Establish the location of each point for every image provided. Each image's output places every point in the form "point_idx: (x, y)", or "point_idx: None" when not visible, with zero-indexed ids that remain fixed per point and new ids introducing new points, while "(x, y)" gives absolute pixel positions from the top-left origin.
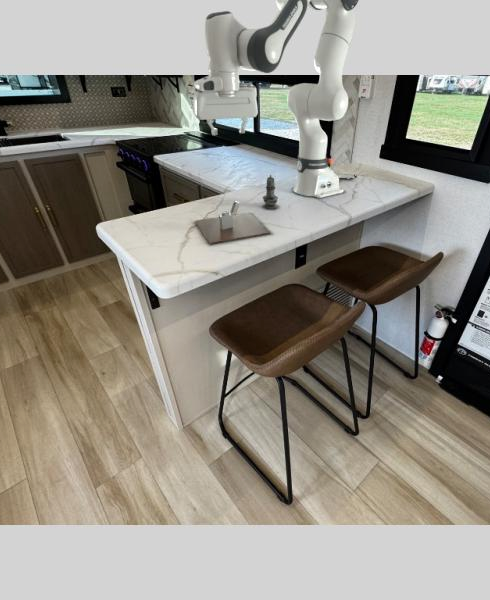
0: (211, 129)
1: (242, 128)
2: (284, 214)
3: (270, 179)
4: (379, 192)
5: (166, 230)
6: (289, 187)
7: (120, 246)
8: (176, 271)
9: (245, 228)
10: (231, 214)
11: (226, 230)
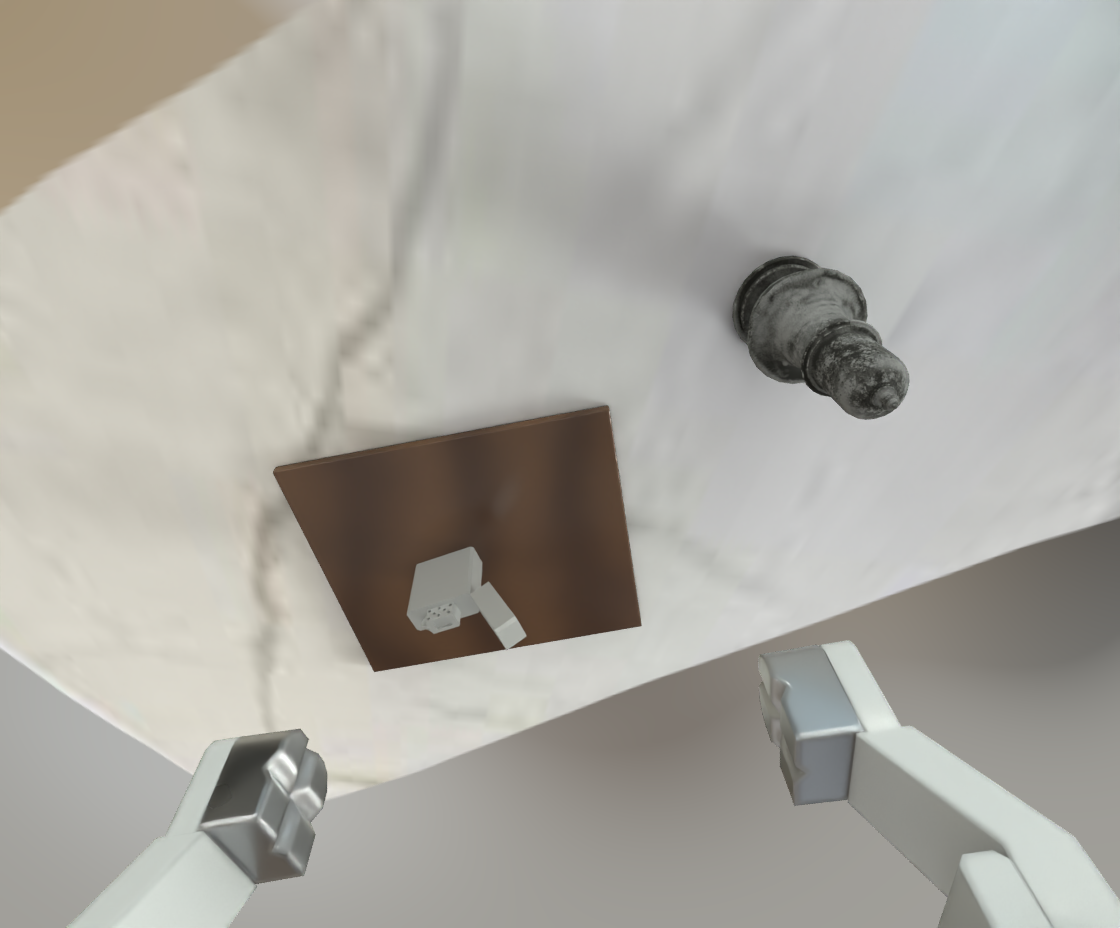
0: (183, 825)
1: (825, 784)
2: (806, 437)
3: (863, 417)
4: None
5: (140, 533)
6: None
7: None
8: None
9: (539, 584)
10: (474, 610)
11: None
